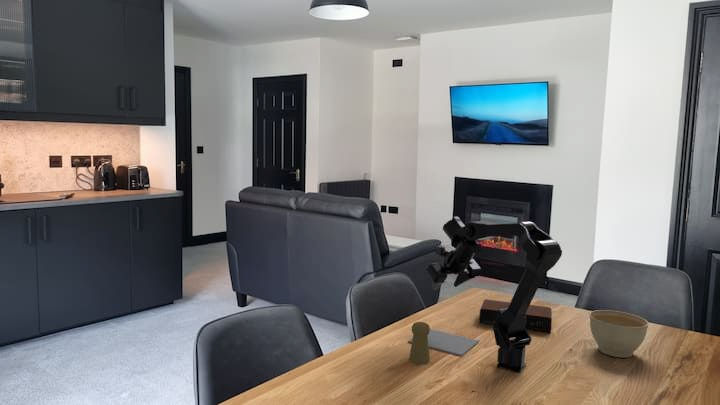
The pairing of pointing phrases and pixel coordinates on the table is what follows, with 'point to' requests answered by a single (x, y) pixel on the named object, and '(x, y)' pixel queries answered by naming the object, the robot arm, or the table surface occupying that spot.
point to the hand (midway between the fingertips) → (443, 287)
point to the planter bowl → (617, 332)
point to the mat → (449, 342)
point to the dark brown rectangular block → (535, 315)
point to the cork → (420, 344)
